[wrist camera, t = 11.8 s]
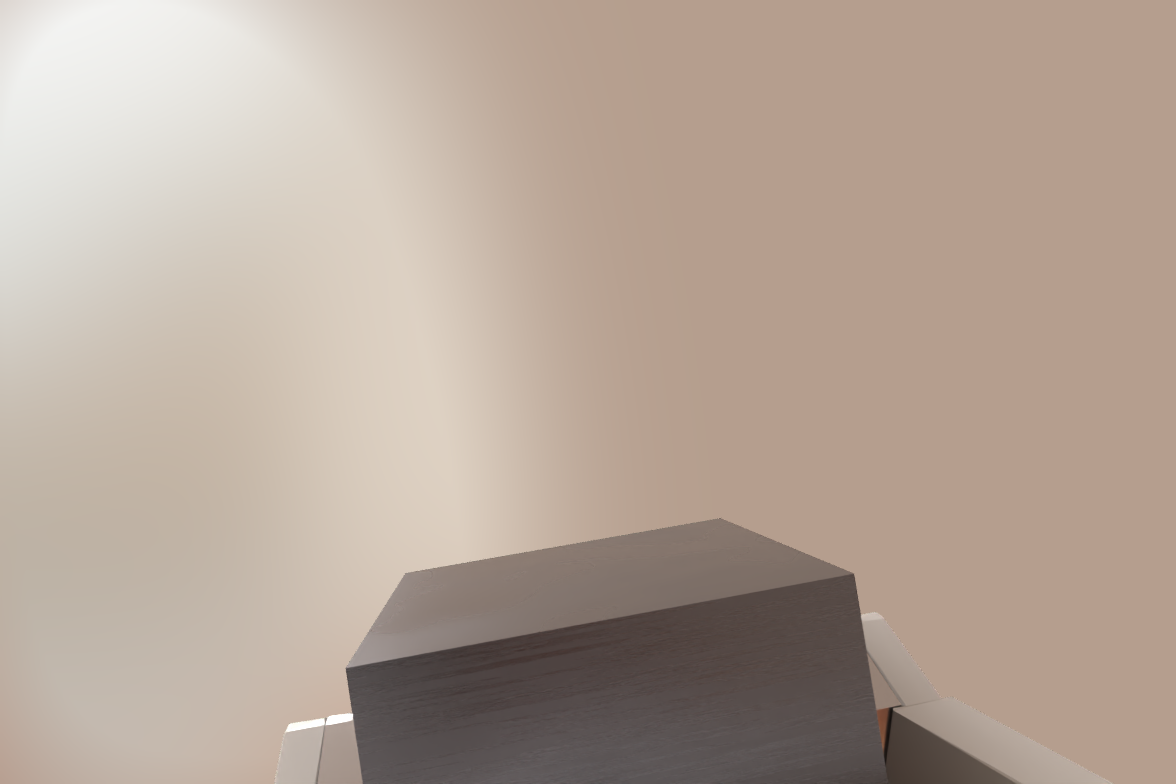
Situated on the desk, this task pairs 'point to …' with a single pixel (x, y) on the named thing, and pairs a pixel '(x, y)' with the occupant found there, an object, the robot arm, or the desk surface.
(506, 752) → the grey t-shaped piece
